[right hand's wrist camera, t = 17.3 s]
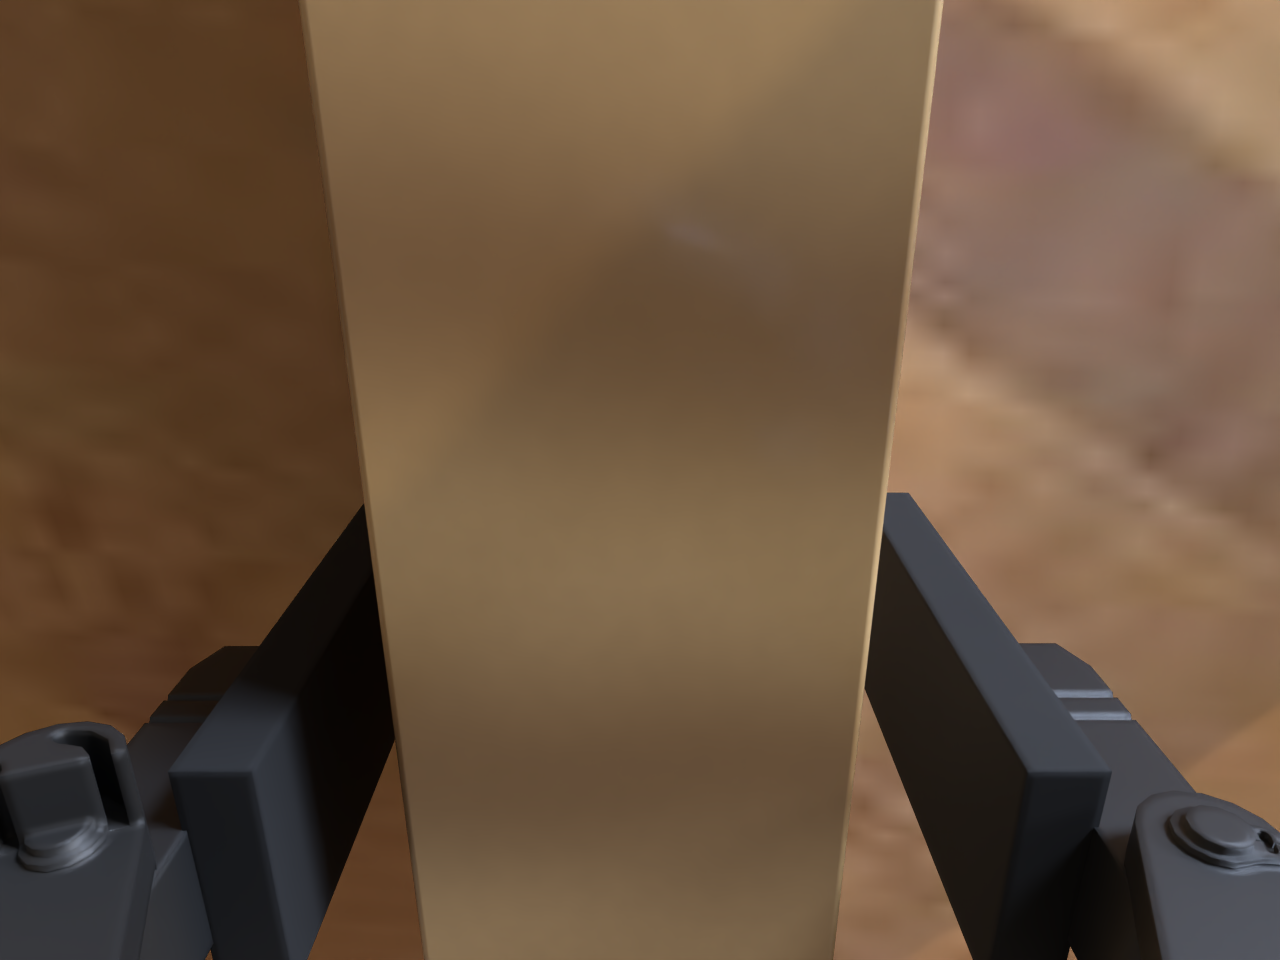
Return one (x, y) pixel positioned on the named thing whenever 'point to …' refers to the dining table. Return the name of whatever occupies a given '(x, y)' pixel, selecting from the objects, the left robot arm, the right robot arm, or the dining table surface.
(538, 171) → the post
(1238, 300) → the dining table surface
